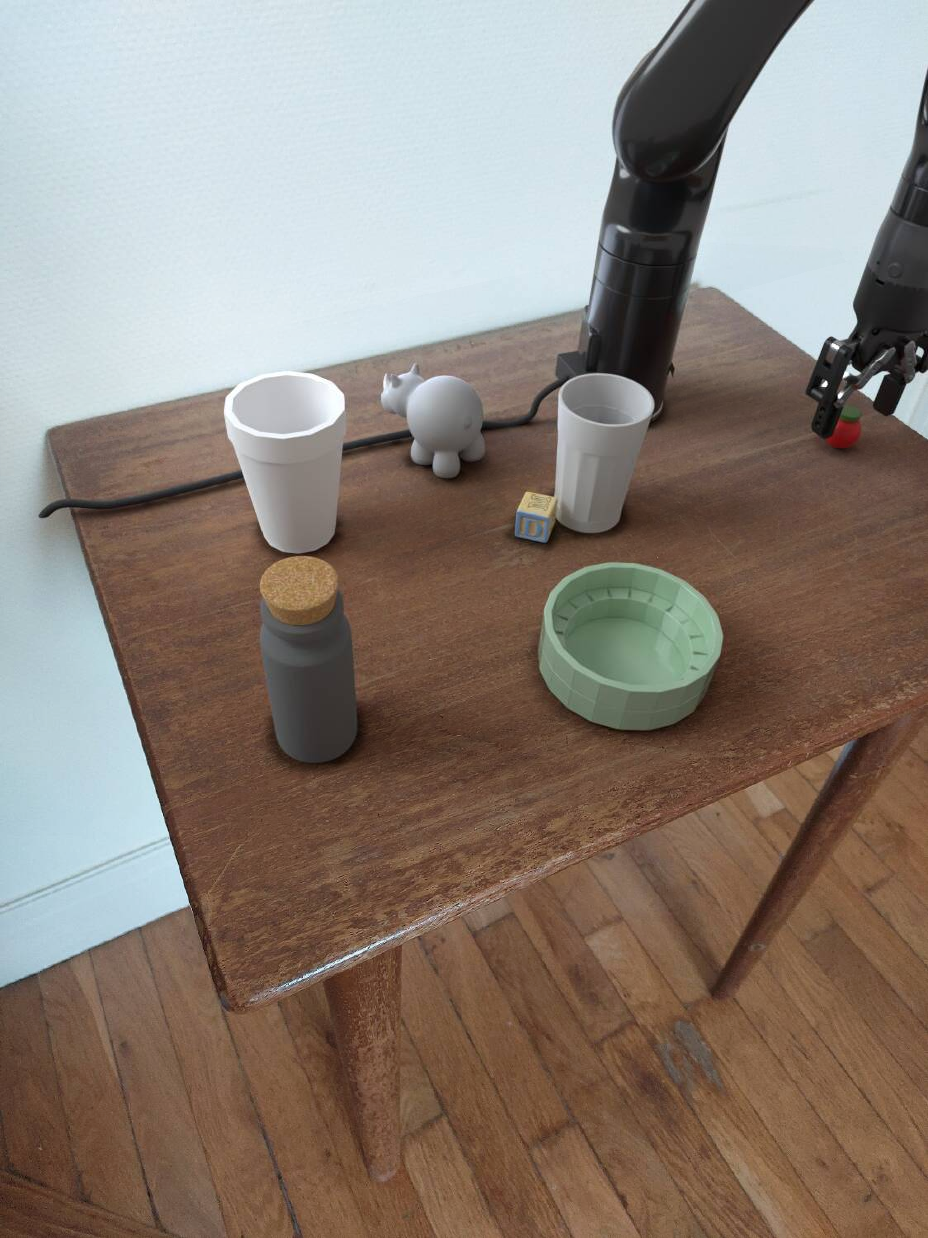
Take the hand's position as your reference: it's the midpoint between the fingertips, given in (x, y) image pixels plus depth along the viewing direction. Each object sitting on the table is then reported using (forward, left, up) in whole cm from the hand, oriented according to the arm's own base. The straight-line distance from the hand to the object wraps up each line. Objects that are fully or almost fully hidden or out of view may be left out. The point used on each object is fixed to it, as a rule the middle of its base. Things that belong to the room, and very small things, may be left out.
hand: (851, 422), depth 91 cm
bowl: (-26, -31, -3) cm, 41 cm away
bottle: (-49, -38, -3) cm, 62 cm away
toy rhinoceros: (-42, -3, -3) cm, 43 cm away
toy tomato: (0, 0, -3) cm, 3 cm away
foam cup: (-53, -16, -3) cm, 56 cm away
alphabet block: (-32, -15, -3) cm, 36 cm away
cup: (-27, -12, -3) cm, 30 cm away
